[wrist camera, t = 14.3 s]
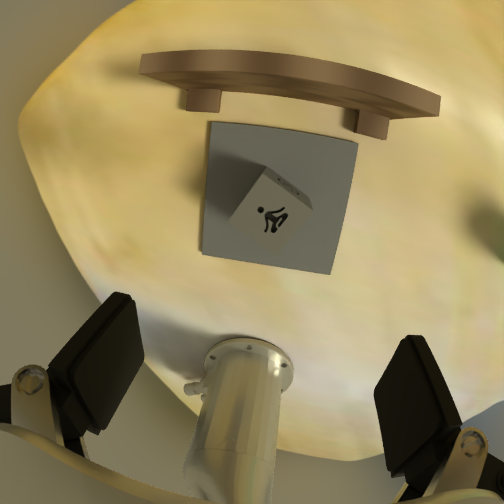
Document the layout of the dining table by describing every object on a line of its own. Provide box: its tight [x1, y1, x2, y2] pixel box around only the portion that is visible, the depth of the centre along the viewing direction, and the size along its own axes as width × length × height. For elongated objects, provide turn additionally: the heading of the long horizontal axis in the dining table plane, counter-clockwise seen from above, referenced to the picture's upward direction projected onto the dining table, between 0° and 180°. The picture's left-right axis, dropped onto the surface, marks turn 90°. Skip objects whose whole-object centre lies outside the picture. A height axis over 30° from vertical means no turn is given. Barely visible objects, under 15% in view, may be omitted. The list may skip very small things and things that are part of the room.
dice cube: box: [228, 167, 313, 256], centre depth 25 cm, size 5×5×5 cm
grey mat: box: [202, 122, 358, 275], centre depth 27 cm, size 14×14×1 cm
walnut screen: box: [139, 50, 441, 140], centre depth 18 cm, size 20×6×10 cm, turn 83°
